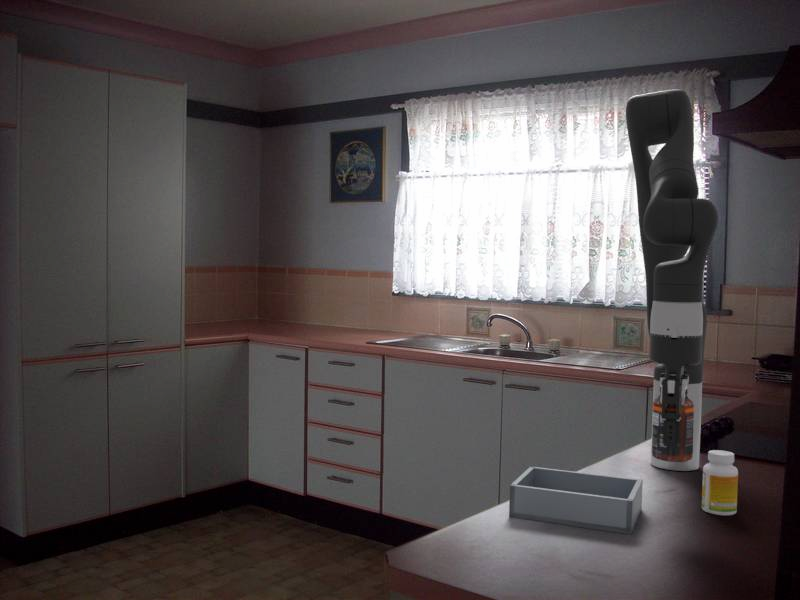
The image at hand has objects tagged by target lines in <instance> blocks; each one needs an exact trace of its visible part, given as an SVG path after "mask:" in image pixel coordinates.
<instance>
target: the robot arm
mask: <svg viewBox="0 0 800 600" xmlns="http://www.w3.org/2000/svg"><path fill="white" fill-rule="evenodd" d="M693 119H694V118H693V109H692V103H691V100H690V97H689V95H688V93H687V92H686V91H685V90H684V89H679V88H677V89H676V88H675V89H667V90H660V91H653V92H648V93H647V92H646V93H641V94H636V95H633V96H631V97H629V99H628V100H627V102H626V106H625V122H626V129H627V136H628V140H629V141H628V142H629V147H630V154H631V160H632V165H633V171H634V172H633V173H634V178H635V185H636V187H635V188H636V199H637V212H638V213H637V215H638V225H639V233H640V234H639V235H640V236H639V237H640V242H641V250H642V255H643V263H644V270H645V271H644V273H645V288H646V295H645V296H646V320H647V321H646V323H647V331H648V336H649V352H648V353H649V354H648V355H649V358H648V359H649V360H650V361H651V362H653V363H655V364H656V365H655V366H654V368H653V369H654V370H653V391H652V394H653V395H652V397H653V398H652V403H653V402H654V400H655V399H656V398H657V397H658V396H659V395H660V386H661V397H660V402H661V405H662V413H661V416H662V419H663V421H664V425H663V444H664V445H665V446H670V447H677V446H678V444H679V423H680V420H681V408H682V407H684V406H685V391H686V389H687V392H688V394H687V397H688V398H689V399H690V400H691V401H692V402H693V404H694V423H693V457H692V459H691V460H689V461H686V462H668V461H663V460H659V459H656V458H655V457H653V455H652V441H650V442H651V444H650V465H652V466H653V467H656V468H659V469H664V470H670V471H679V472H681V471H682V472H689V471H691V472H692V471H696V470H698V469H699V467H700V451H701V450H700V449H701V430H702V429H701V424H702V400H703V397H702V395H703V375H704V374H703V372H704V357H705V345H706V335H707V323H708V322H707V321H708V320H707V319H708V315H707V309H706V306H705V304H704V303H702V301H703V281H704V280H703V279H704V272H705V266H706V263H707V257H708V254H709V251H710V248H711V246H712V243H713V240H714V237H715V235H716V232H717V227H718V222H719V216H718V215H719V214H718V210H717V208H716V206H715V204H713V202H712V201H710V200H709V199H706V198H698V197H699V184H698V181H697V180H698V179H697V176H696V170H695V166H694V165H695V163H694V148H695V147H694V146H695V145H694V144H695V142H694V141H695V140H694V120H693ZM657 145H658V146H659V145H663V146H662V147H661V148H660V149H659V151H658V152H657V153H656V154H655V156H654V157H652V154H651V153H650V150H649V147H650V146H657ZM681 386H682V391H681ZM687 387H688V388H687ZM680 397H681V399H680ZM669 405H670V406H676V411H667V406H669ZM651 420H652V422H651V430H652V429H653V415H652V419H651Z"/></svg>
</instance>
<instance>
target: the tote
mask: <svg viewBox="0 0 800 600" xmlns="http://www.w3.org/2000/svg"><path fill="white" fill-rule="evenodd" d="M643 481H644V480H643V479H639V478H631V477H623V476H617V475H615V476H614V475H607V474H599V473H598V474H597V473H590V472H581V471H573V470H572V471H571V470H564V469H563V470H562V469H555V468H547V467H539V466H529V467H528V468H527V469H526V470H525V471H524V472H523V473H522V474H520V475H519V476H518V478H516V479H515V480H514V481H513V482H512V483H511V484H510V485H509V504H508V505H509V511H508V517H509V518H515V519H522V520H528V521H529V520H530V521H535V522H541V523H542V522H543V523H549V524H550V523H551V524H556V525H563V526H564V525H565V526H570V527H576V528H577V527H579V528H584V529H590V530H591V529H592V530H597V531H598V530H599V531H604V532H611V533H619V534H626V535H632V534H633V531H634V528H635V526H636V524H637V521H638V519H639V517H640V515H641V512H642V509H643V508H642V507H643V506H642V503H643Z"/></svg>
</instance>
